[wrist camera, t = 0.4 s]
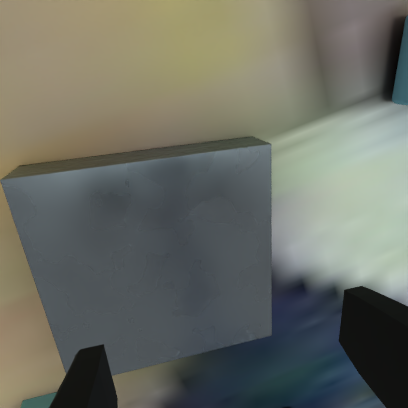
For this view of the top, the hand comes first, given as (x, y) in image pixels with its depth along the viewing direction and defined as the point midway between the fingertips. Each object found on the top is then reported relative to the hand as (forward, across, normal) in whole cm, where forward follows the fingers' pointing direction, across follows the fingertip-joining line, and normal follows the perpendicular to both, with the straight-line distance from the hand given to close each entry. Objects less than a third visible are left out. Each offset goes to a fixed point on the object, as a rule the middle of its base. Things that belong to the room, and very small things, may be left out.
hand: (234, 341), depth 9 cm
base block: (+10, +2, +2) cm, 10 cm away
